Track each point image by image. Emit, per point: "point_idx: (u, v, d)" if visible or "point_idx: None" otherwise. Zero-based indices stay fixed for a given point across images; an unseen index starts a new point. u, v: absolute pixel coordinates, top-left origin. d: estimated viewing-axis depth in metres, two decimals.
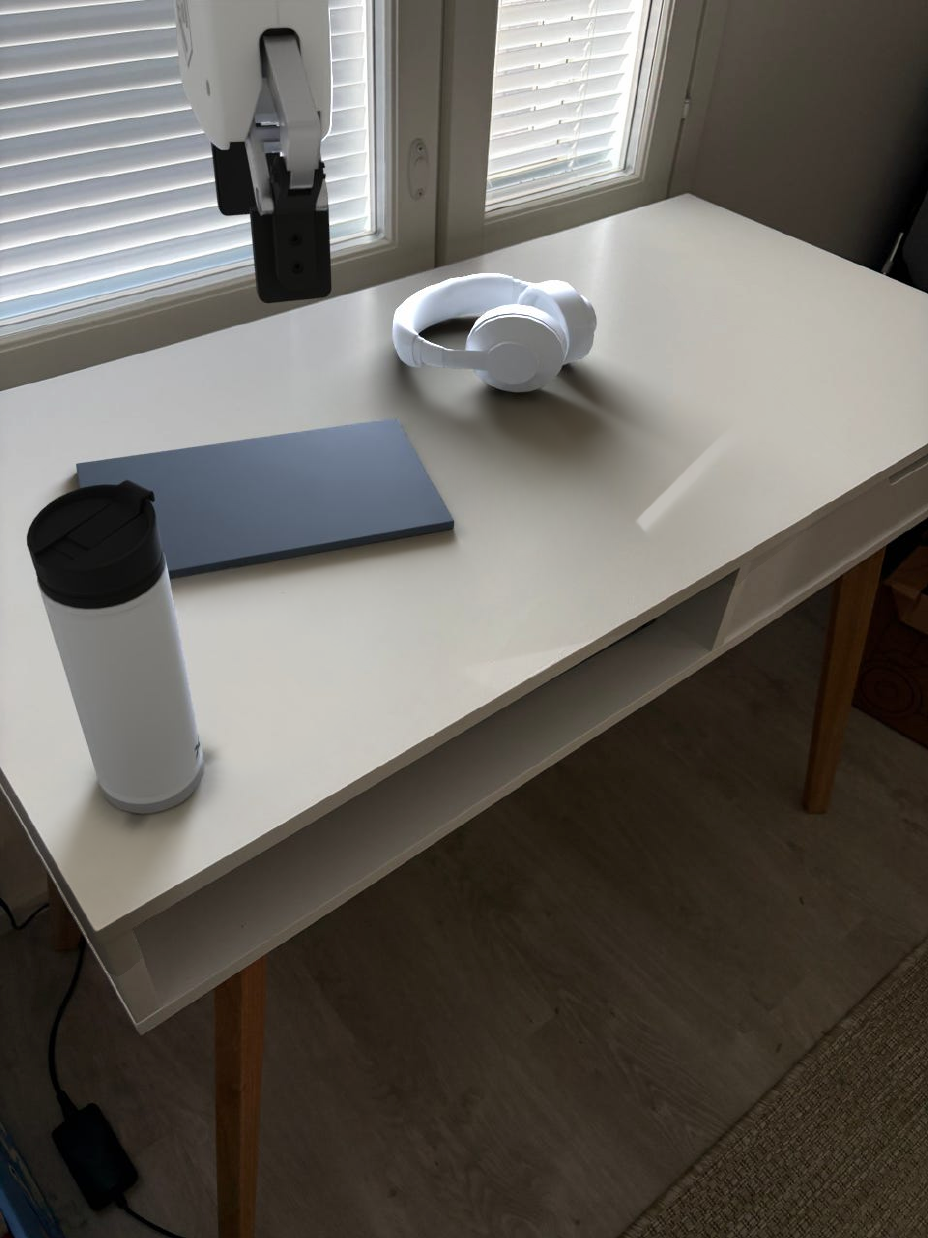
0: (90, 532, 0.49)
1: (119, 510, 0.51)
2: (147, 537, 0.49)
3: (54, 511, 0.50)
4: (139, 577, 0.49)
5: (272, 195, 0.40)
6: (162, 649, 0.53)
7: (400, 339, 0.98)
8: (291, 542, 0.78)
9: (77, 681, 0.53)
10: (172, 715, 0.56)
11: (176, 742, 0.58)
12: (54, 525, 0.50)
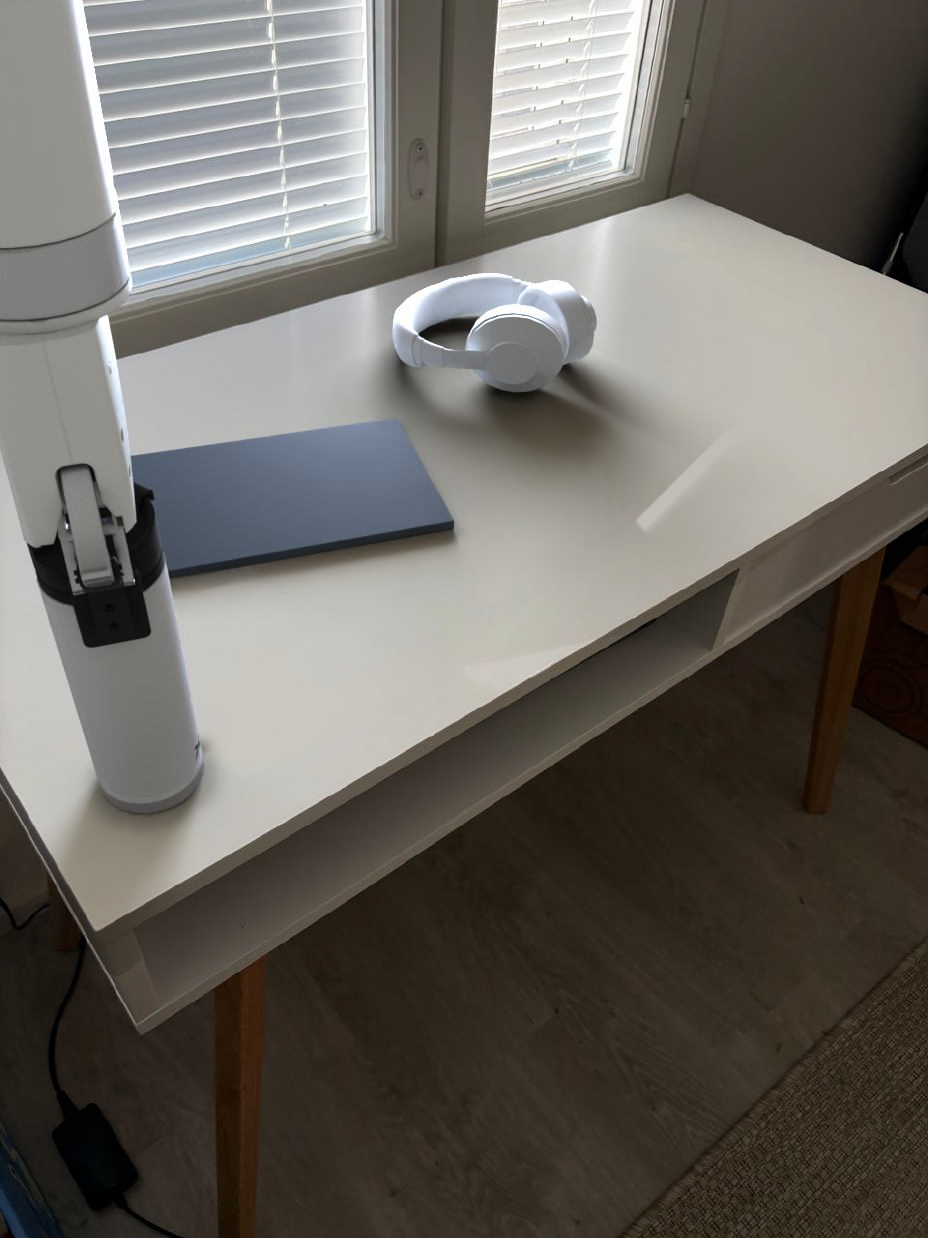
0: None
1: None
2: (147, 535, 0.49)
3: None
4: None
5: None
6: (162, 648, 0.53)
7: (400, 339, 0.98)
8: (291, 542, 0.78)
9: (77, 680, 0.53)
10: (172, 714, 0.56)
11: (176, 741, 0.58)
12: None
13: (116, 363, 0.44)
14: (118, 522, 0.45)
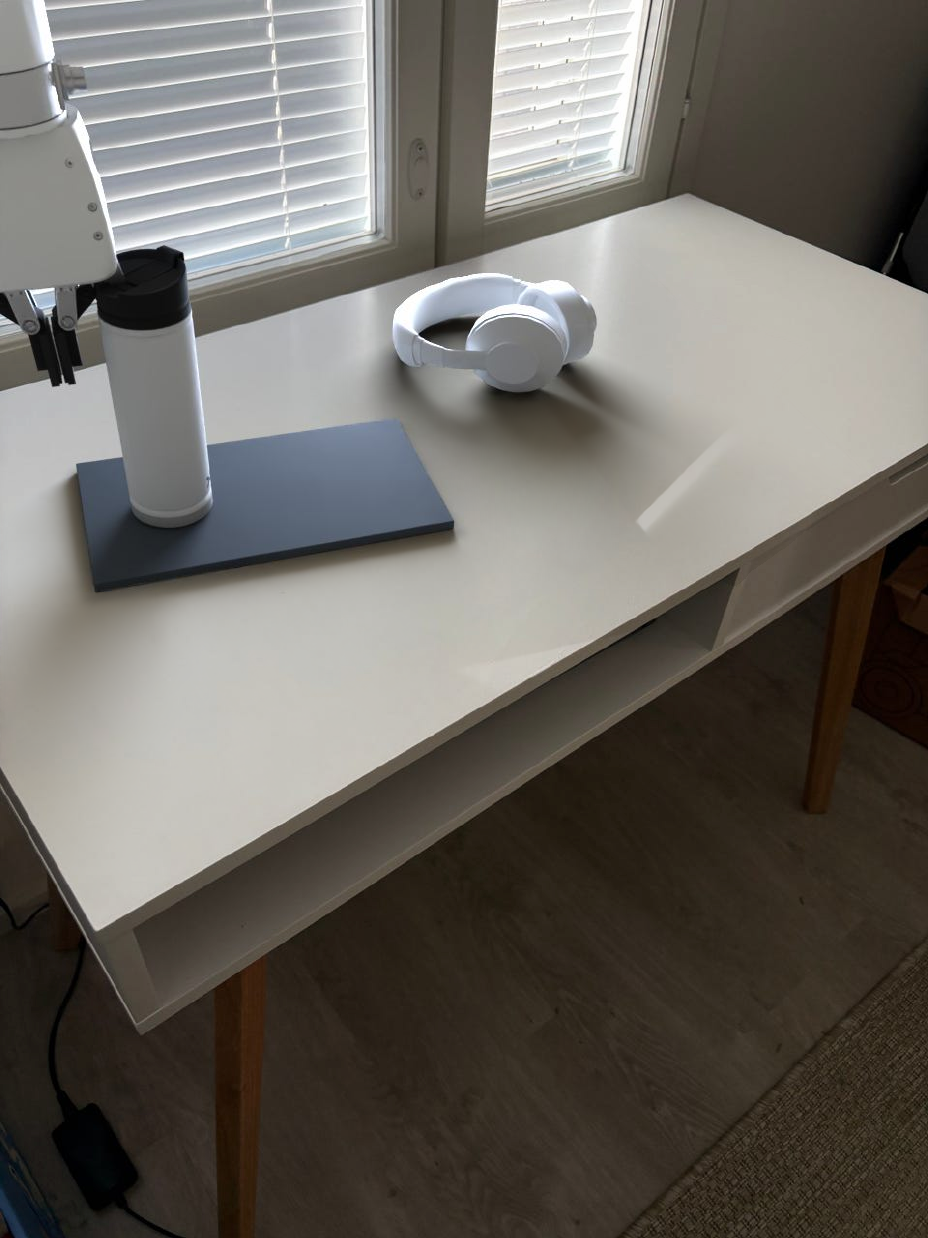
0: (137, 276, 0.68)
1: (158, 265, 0.69)
2: (180, 278, 0.67)
3: None
4: (173, 309, 0.68)
5: None
6: (186, 377, 0.71)
7: (400, 339, 0.98)
8: (291, 542, 0.78)
9: (123, 399, 0.71)
10: (191, 438, 0.74)
11: (193, 464, 0.76)
12: None
13: (4, 192, 0.60)
14: None
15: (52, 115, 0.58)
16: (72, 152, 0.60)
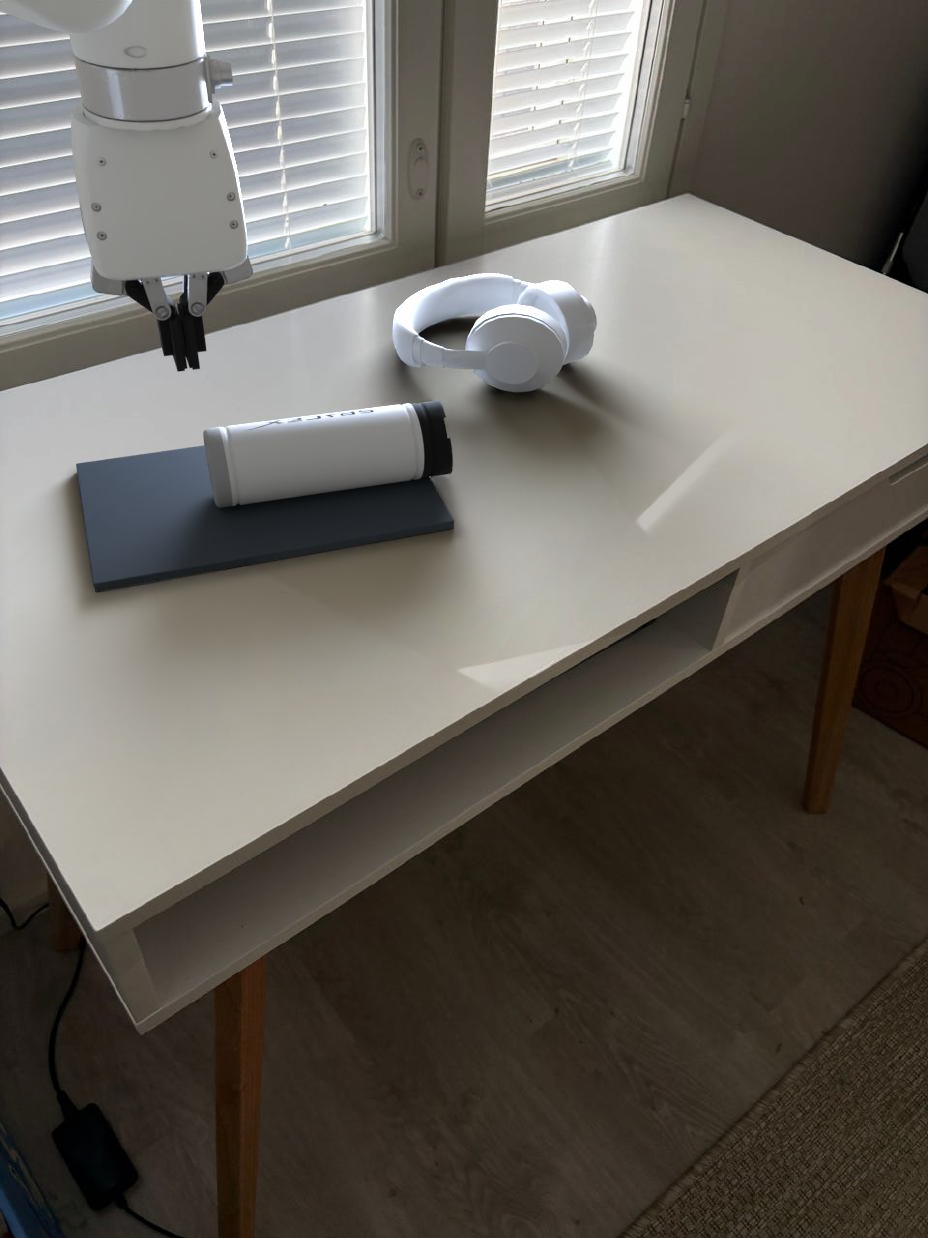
0: None
1: None
2: None
3: None
4: (433, 474, 0.84)
5: None
6: (372, 485, 0.83)
7: (400, 339, 0.98)
8: (291, 542, 0.78)
9: (352, 439, 0.79)
10: (312, 493, 0.81)
11: (284, 496, 0.81)
12: None
13: (151, 181, 0.62)
14: None
15: (202, 107, 0.60)
16: (217, 143, 0.62)
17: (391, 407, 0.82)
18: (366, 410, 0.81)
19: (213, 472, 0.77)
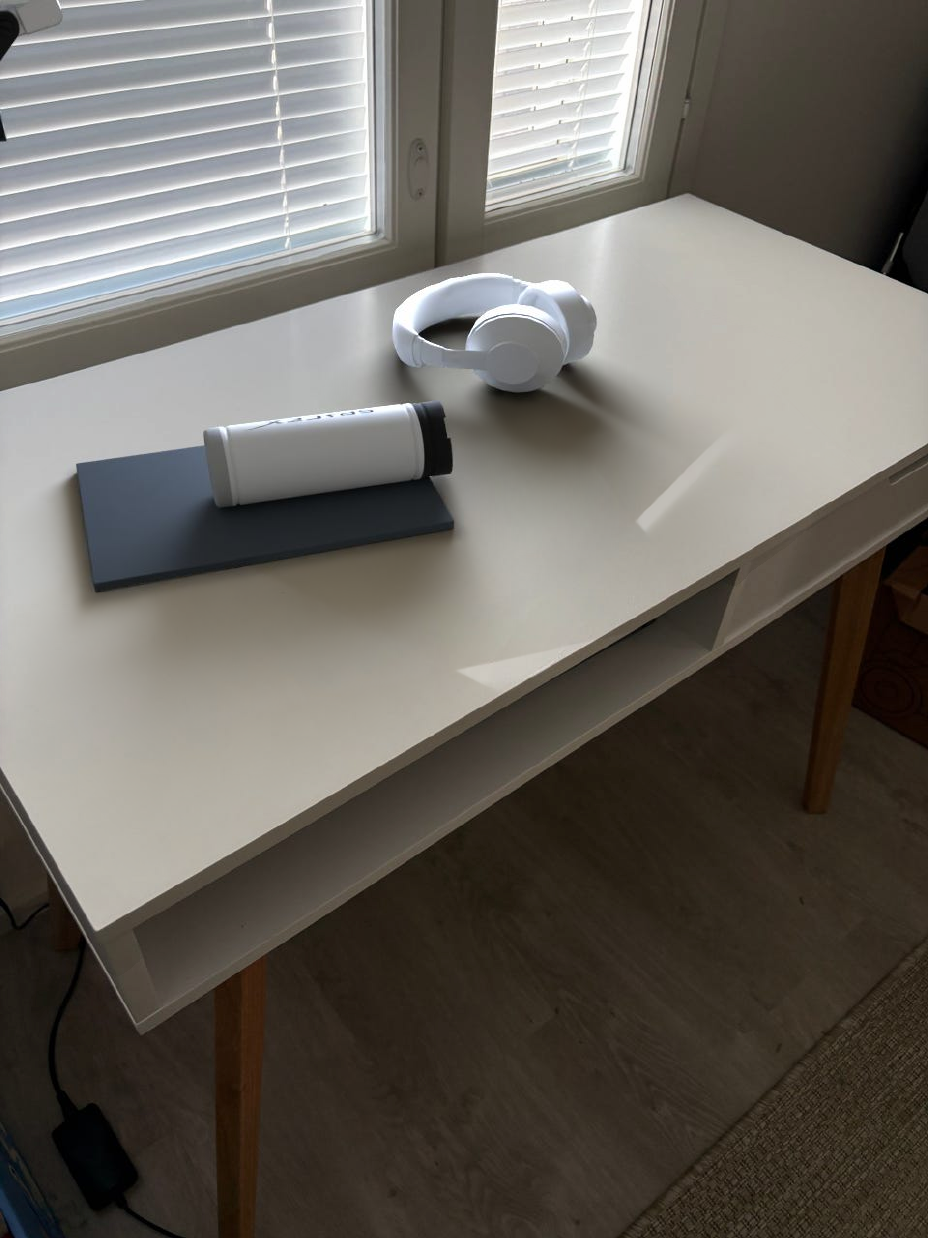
0: None
1: None
2: None
3: None
4: (433, 474, 0.84)
5: None
6: (372, 485, 0.83)
7: (400, 339, 0.98)
8: (291, 542, 0.78)
9: (352, 439, 0.79)
10: (312, 493, 0.81)
11: (284, 496, 0.81)
12: None
13: None
14: None
15: None
16: None
17: (391, 407, 0.82)
18: (366, 410, 0.81)
19: (213, 472, 0.77)
